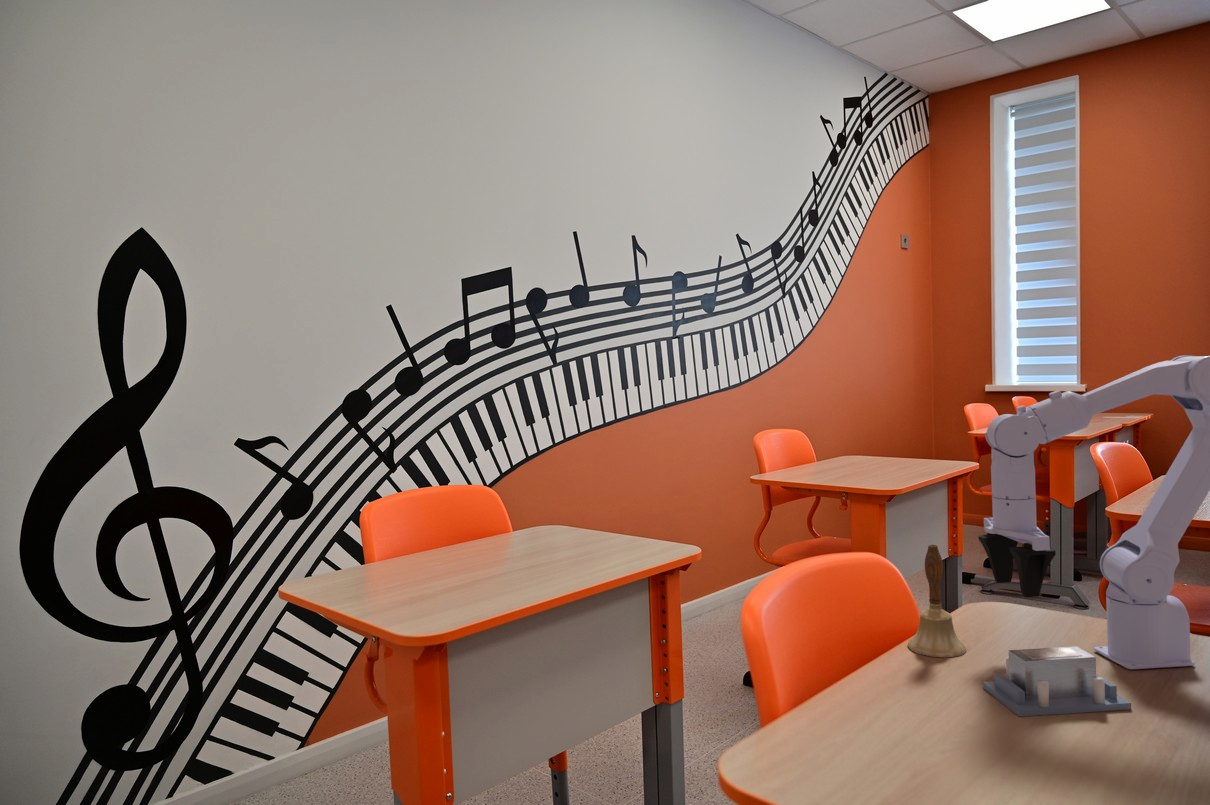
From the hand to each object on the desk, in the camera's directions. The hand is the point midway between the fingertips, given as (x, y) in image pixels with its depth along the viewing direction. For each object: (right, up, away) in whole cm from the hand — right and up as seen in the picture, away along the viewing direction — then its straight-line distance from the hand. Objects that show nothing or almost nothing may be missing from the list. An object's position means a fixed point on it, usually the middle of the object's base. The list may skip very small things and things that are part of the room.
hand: (1016, 588), depth 119 cm
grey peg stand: (-3, -11, -15) cm, 18 cm away
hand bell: (-10, -11, +5) cm, 15 cm away
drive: (-3, -10, -15) cm, 18 cm away
